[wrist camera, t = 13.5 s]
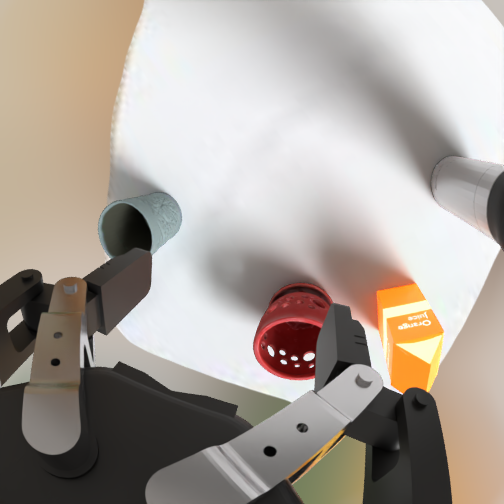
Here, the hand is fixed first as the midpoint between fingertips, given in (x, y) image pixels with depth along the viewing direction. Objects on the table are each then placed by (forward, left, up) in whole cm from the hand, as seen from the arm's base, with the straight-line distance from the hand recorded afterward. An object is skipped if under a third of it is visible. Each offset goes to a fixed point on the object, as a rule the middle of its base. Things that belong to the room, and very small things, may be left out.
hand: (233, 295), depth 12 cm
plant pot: (-7, +21, -34) cm, 41 cm away
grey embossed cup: (+21, +10, -34) cm, 41 cm away
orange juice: (-24, +16, -34) cm, 45 cm away
